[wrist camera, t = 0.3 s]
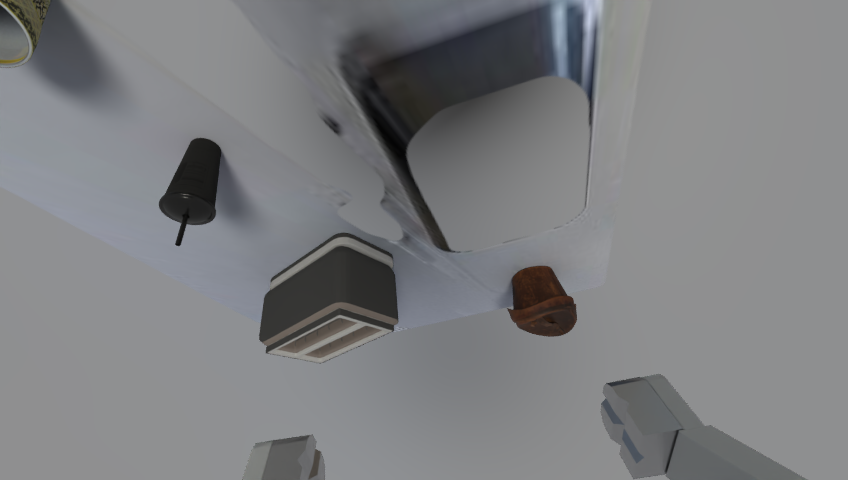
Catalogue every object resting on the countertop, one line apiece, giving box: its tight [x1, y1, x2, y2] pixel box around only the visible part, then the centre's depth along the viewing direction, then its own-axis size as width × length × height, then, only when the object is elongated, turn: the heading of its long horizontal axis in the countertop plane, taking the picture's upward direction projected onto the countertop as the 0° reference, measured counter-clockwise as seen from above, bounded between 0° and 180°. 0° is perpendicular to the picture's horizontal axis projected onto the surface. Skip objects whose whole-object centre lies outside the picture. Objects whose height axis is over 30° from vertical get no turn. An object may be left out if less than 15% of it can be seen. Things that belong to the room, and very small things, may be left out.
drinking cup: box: [159, 138, 221, 246], centre depth 62 cm, size 8×8×20 cm
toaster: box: [259, 233, 398, 363], centre depth 101 cm, size 19×35×20 cm, turn 131°
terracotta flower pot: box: [508, 266, 577, 336], centre depth 117 cm, size 18×20×18 cm
